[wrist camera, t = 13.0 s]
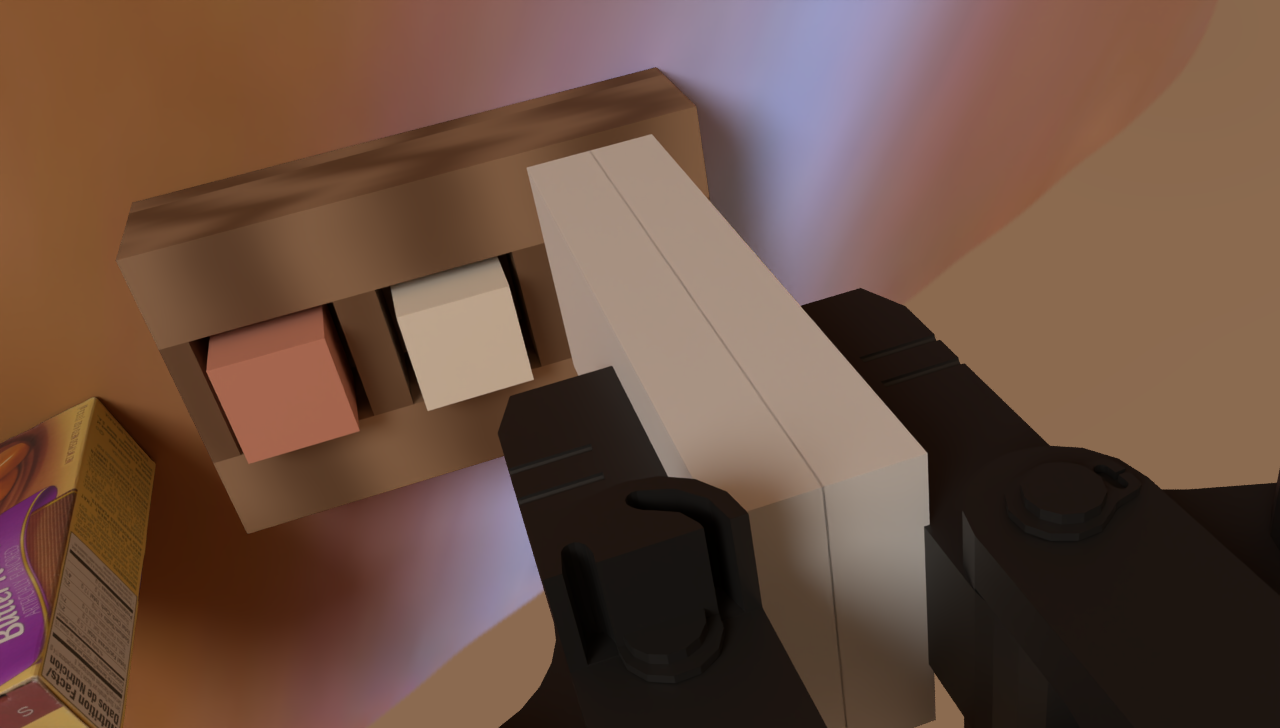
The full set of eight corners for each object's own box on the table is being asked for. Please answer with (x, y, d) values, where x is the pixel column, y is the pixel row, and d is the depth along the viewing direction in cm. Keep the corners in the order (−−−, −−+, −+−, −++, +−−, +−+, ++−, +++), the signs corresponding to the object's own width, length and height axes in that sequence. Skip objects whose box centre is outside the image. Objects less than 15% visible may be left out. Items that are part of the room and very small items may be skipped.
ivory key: (416, 357, 44) (427, 410, 40) (386, 268, 42) (396, 317, 38) (514, 328, 44) (533, 379, 41) (490, 239, 42) (508, 285, 39)
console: (249, 460, 47) (247, 534, 43) (132, 202, 40) (115, 260, 36) (698, 328, 50) (736, 385, 46) (656, 67, 43) (696, 106, 39)
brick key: (250, 404, 43) (248, 463, 39) (211, 316, 41) (206, 371, 37) (353, 375, 43) (359, 431, 40) (320, 286, 41) (324, 338, 38)
